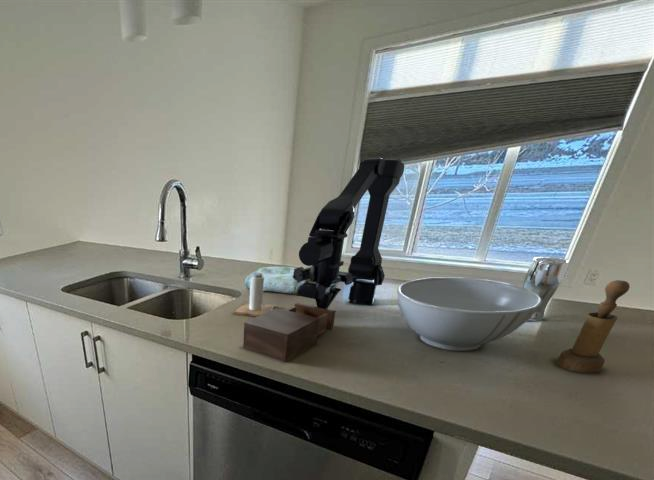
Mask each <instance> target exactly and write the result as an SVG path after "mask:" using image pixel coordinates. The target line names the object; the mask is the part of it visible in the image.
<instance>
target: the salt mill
mask: <svg viewBox="0 0 654 480" xmlns="http://www.w3.org/2000/svg"><path fill="white" fill-rule="evenodd" d="M252 273H253V272H252ZM263 284H264V276H262V273H253V276H251V277H250V288H249V298H248V300H249V301H248V302H249V309H250V310H261V309H262V304H263V299H264V298H263V297H264V291H263Z"/></svg>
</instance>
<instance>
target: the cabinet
mask: <svg viewBox="0 0 654 480" xmlns="http://www.w3.org/2000/svg"><path fill="white" fill-rule="evenodd" d="M318 325H319V318H317V317H312V316H308V315H304V314H299V313H295V312H291V311H287V309H282V308H278V307H275V308H274V309H273V310H271V311H268V312H266V313H264V314H262V315H260V316H257V317H256V316H254V317H253V318H251V319H249V320H246V321H244V322H243V343H242V348H243V349H246V350H249V351H251V352H254V353H257V354H261V355H264V356H267V357H269V358H272V359H275V360H279V361H281V362H287V361H289V360H291V359H292V358H295V357H296V356H297V355H299V354H301V353H303V352H305V351H307V350H308V349H310V348H312V347H313V346H315V345H317V338H318V335H317V332H318Z"/></svg>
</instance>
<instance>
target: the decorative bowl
mask: <svg viewBox="0 0 654 480" xmlns="http://www.w3.org/2000/svg"><path fill="white" fill-rule="evenodd" d="M396 297H397V303H398V307H399V310H400V313H401V315H402V317H403V319H404V321H405V323H407V325H408V326H409V327H410V328H411V330H413V331H414V332H415V333H416V334H418V335H419V338H420V340H421V341H422V342H424V343H425V344H426V345H429V346H432V347H435V348H439V349H443V350H449V351H460V352H461V351H466V352H467V351H473V350H477V349H479V348H480V347H481V346H482V345H485V344H489V343H492V342H495V341H497V340H500V339H502V338H504V337H506V336H508V335H510V334H512V333H513V332H515V331H516V330H517V329H519V328H520V327H521V326H523V325H524V324H525V323H527V320H528V319H529V318H530V317H531V316H532V315H533V314H534V313H535V312H536V311H537V310H538V308H539V307H540V305H541V303H542V299H541V298H540V297H539V296H538V295H537V294H536V293H534V292H532V291H530V290H527V289H525V288H523V286H522V287H521V286H519V285H515V284H511V283H507V282H503V281H496V280H489V279H481V278H475V277H474V278H471V277H457V276H455V277H454V276H439V277H435V276H434V277H425V278H424V277H423V278H417V279H413V280H409V281H406V282H403V283H402V284H400V285H399V286H398V288H397V290H396Z"/></svg>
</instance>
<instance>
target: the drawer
mask: <svg viewBox="0 0 654 480" xmlns="http://www.w3.org/2000/svg"><path fill="white" fill-rule="evenodd" d="M286 310H287V311H291V312H295V313H299V314H304V315H308V316H312V317H317V318H319V325H318V332H317V336H319V335H321V334H322V333H324V332H326V331H329V332H332V331H333V330H334V324H335V318H336V310H333V309H328V308H327V309H324V308H319V307H317V306H314V305H309V304H304V303H300V302H296V303H294V305H293V306H292V307H289V308H288V309H286Z"/></svg>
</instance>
